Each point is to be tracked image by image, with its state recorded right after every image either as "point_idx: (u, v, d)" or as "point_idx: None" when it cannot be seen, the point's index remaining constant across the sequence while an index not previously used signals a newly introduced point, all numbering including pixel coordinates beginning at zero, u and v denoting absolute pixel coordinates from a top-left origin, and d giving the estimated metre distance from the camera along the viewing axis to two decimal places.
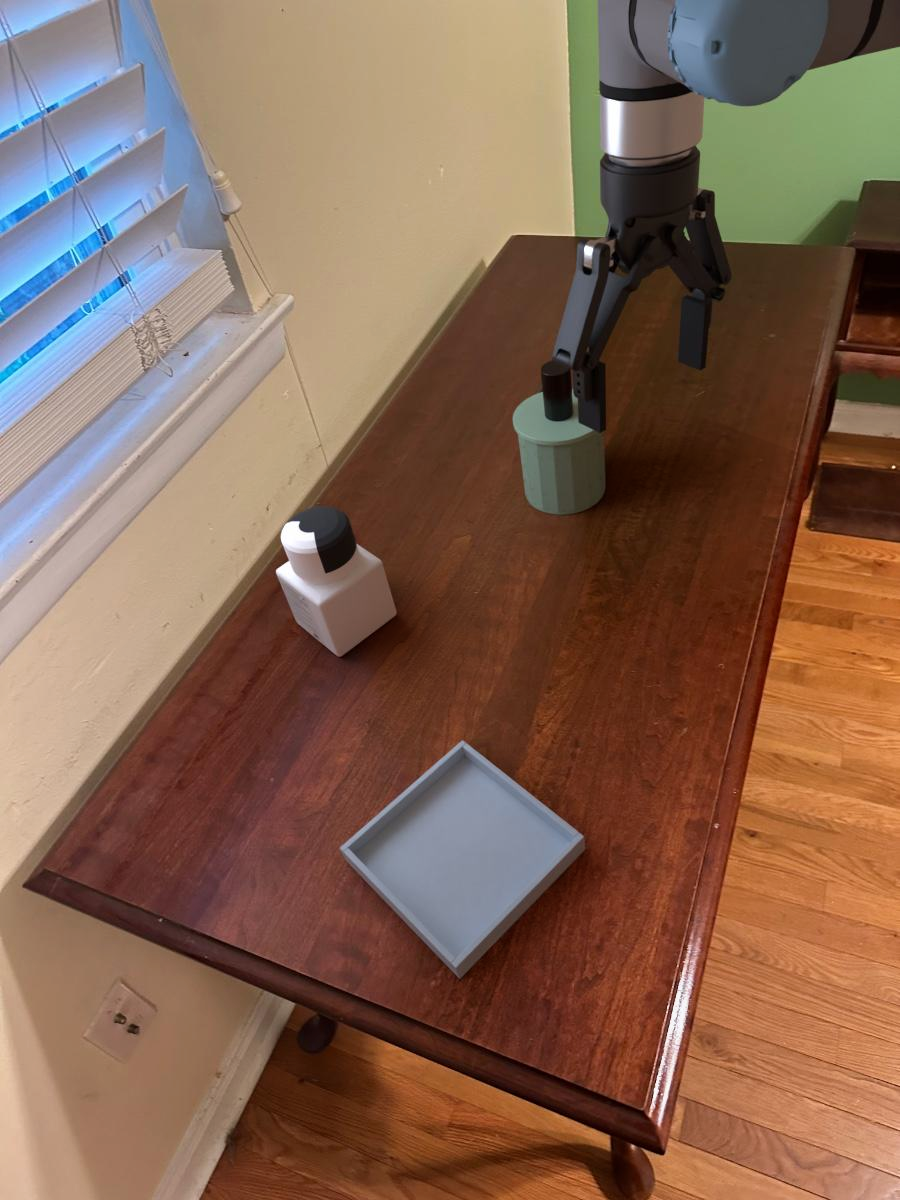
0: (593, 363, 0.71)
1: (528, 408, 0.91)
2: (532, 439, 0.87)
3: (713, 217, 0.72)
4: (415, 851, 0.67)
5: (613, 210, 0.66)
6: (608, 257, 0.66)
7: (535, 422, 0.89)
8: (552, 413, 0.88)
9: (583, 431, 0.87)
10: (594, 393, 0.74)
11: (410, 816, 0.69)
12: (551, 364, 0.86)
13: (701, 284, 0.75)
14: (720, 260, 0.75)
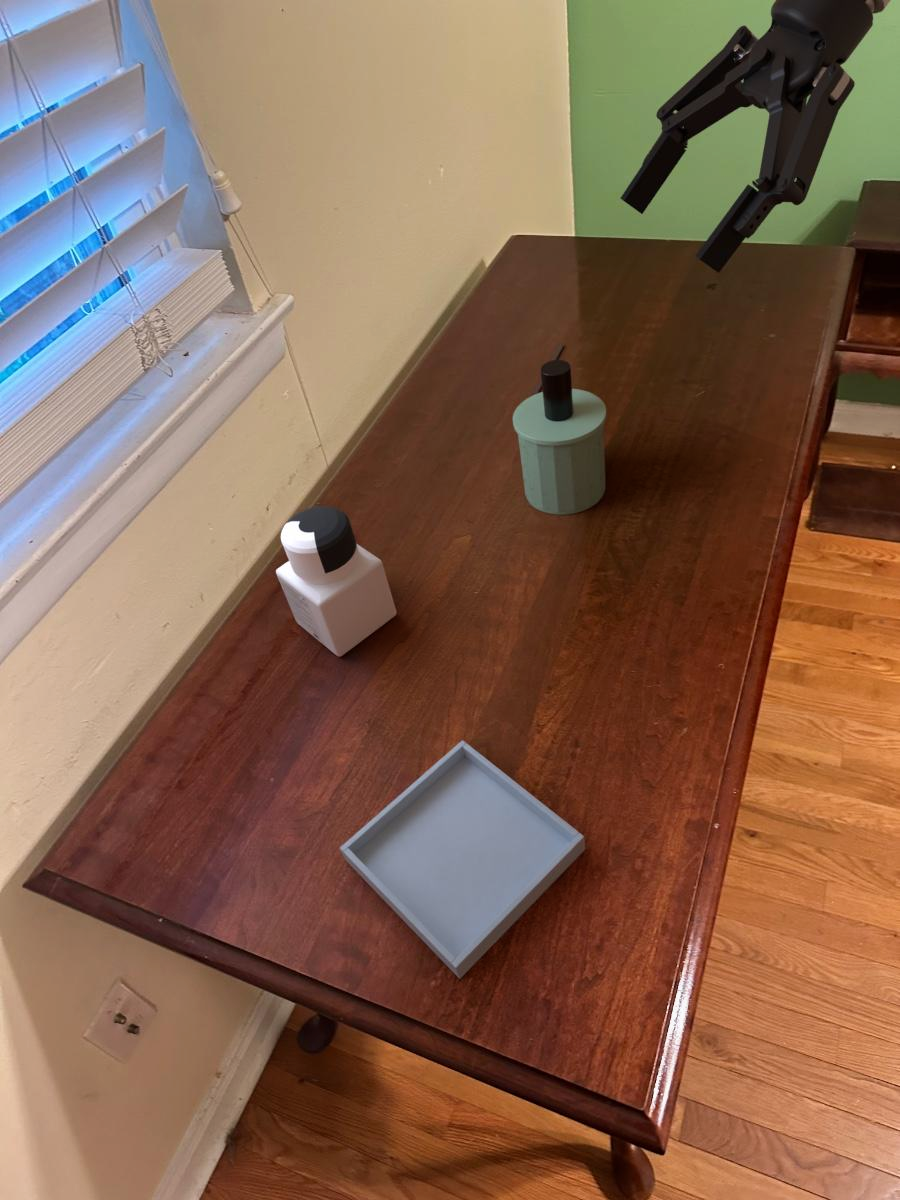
0: (665, 123, 0.78)
1: (528, 408, 0.91)
2: (532, 439, 0.87)
3: (820, 94, 0.66)
4: (415, 851, 0.67)
5: None
6: (738, 39, 0.73)
7: (535, 422, 0.89)
8: (552, 413, 0.88)
9: (583, 431, 0.87)
10: None
11: (410, 816, 0.69)
12: (551, 364, 0.86)
13: (763, 157, 0.69)
14: (792, 153, 0.67)
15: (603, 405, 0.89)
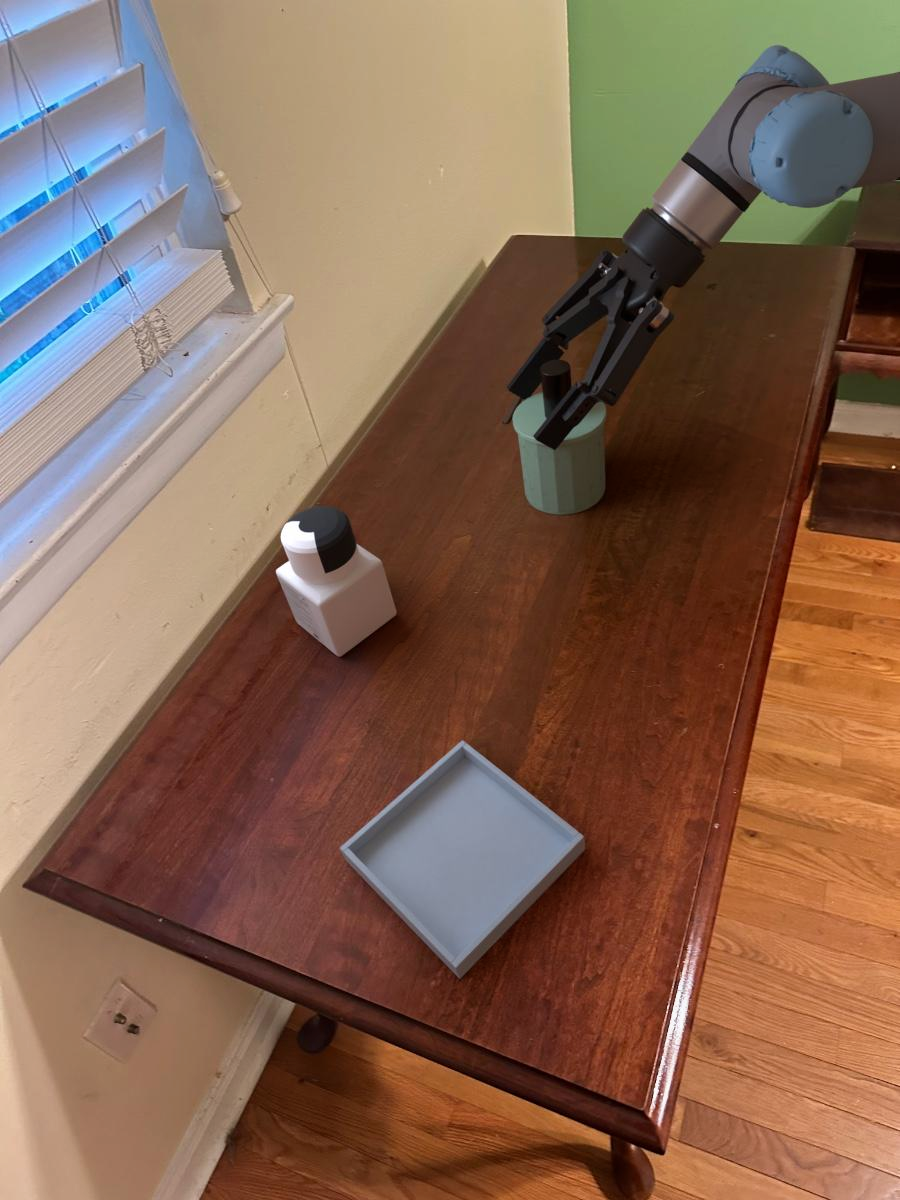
0: (545, 329, 0.89)
1: (527, 408, 0.91)
2: (532, 439, 0.87)
3: (638, 323, 0.77)
4: (415, 851, 0.67)
5: None
6: (601, 259, 0.85)
7: (535, 422, 0.89)
8: None
9: (583, 431, 0.87)
10: None
11: (410, 816, 0.69)
12: (551, 364, 0.86)
13: (591, 362, 0.81)
14: (609, 365, 0.79)
15: (603, 405, 0.89)
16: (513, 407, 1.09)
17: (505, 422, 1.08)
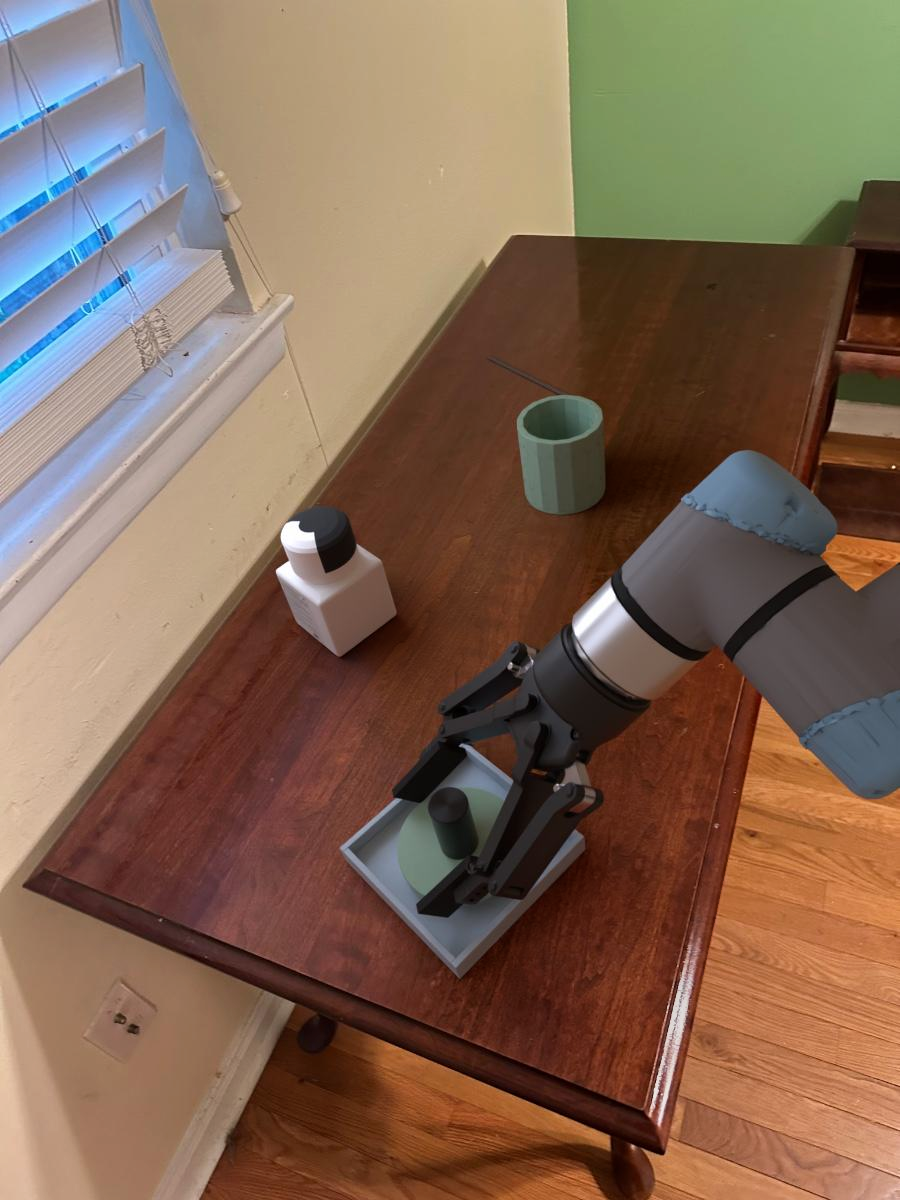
0: (440, 728, 0.65)
1: (419, 824, 0.67)
2: (419, 893, 0.63)
3: (552, 811, 0.53)
4: None
5: None
6: (512, 657, 0.61)
7: (426, 857, 0.65)
8: (447, 851, 0.64)
9: None
10: None
11: None
12: (443, 796, 0.62)
13: (491, 832, 0.57)
14: (511, 857, 0.55)
15: None
16: None
17: None
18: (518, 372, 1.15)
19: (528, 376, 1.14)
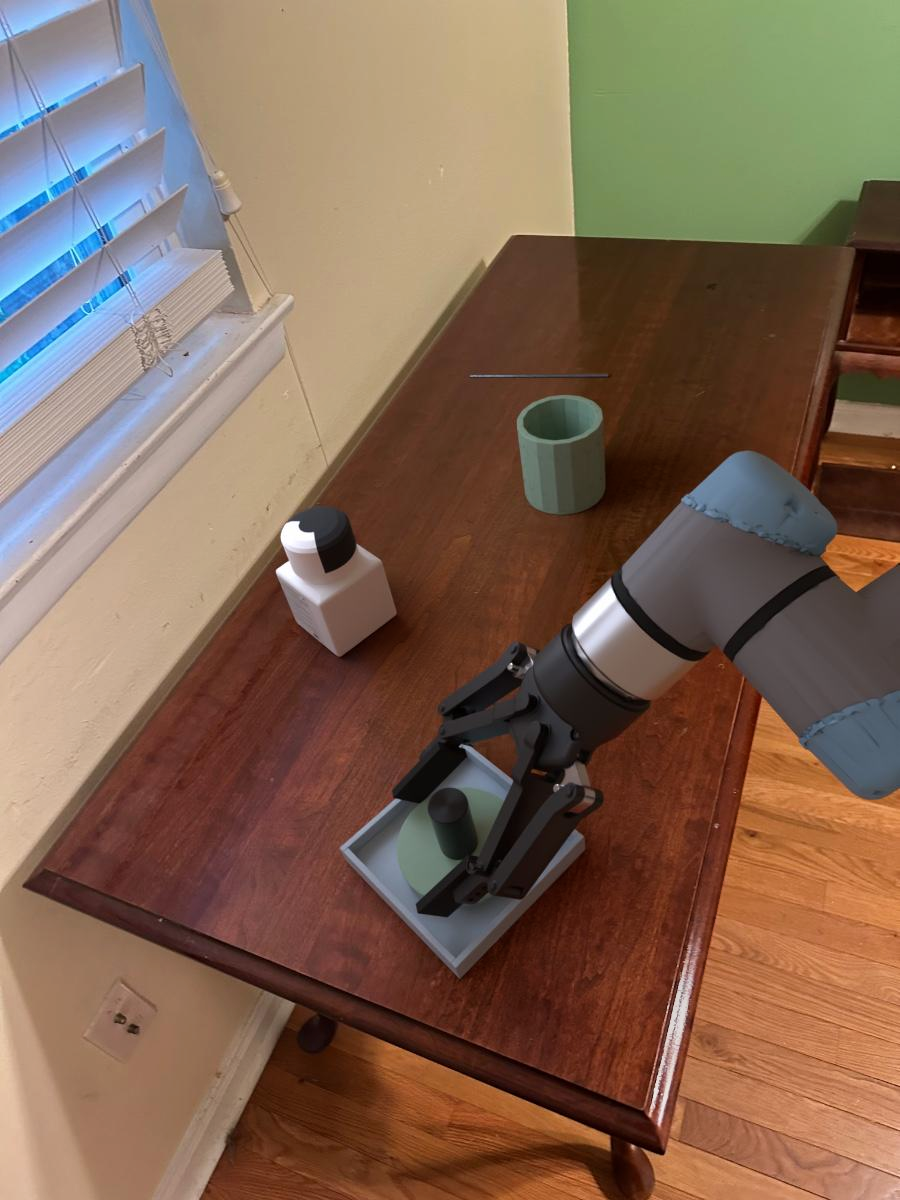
0: (440, 729, 0.65)
1: (419, 824, 0.67)
2: (419, 893, 0.63)
3: (552, 811, 0.53)
4: None
5: None
6: (512, 657, 0.61)
7: (426, 857, 0.65)
8: (447, 852, 0.64)
9: None
10: None
11: None
12: (443, 796, 0.62)
13: (491, 832, 0.57)
14: (511, 856, 0.55)
15: None
16: (584, 373, 1.12)
17: (609, 375, 1.12)
18: (516, 375, 1.15)
19: (531, 374, 1.14)
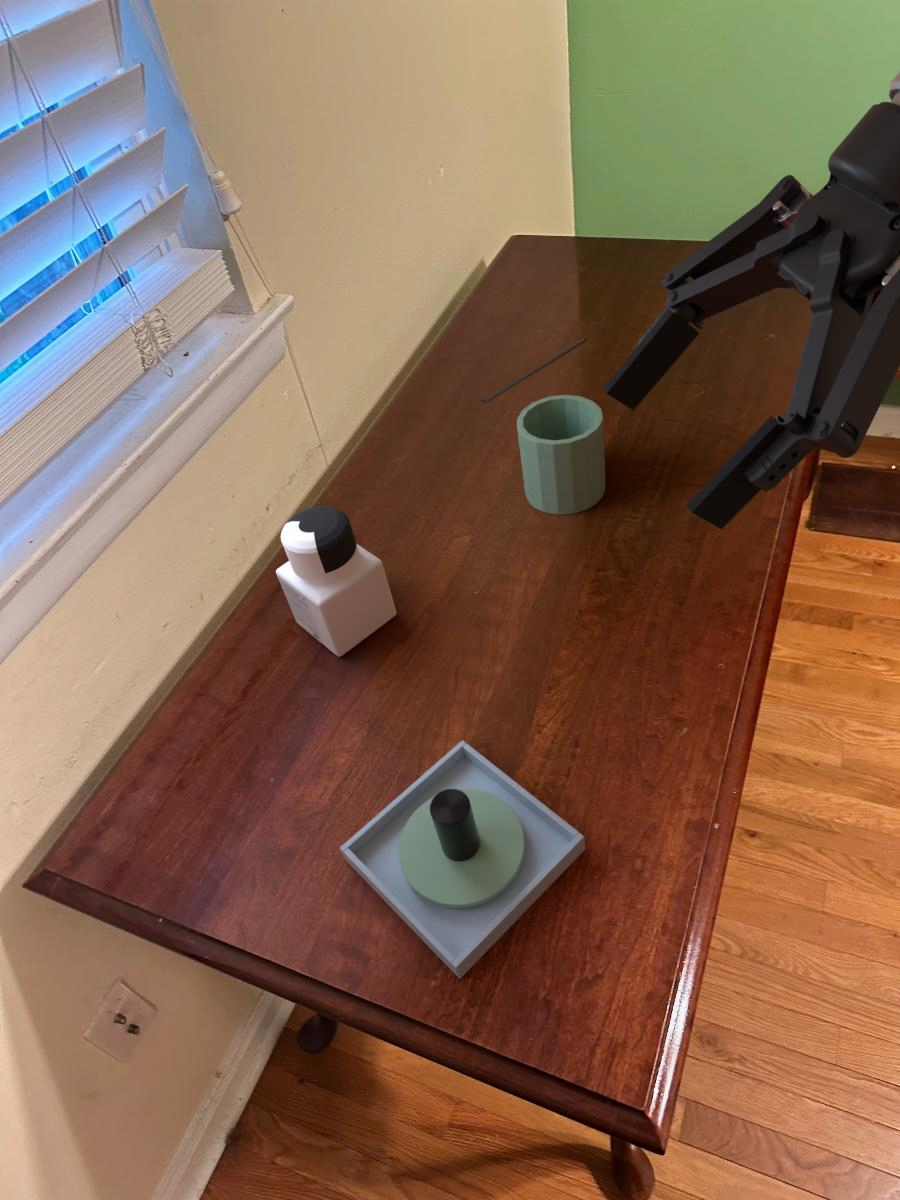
0: (671, 295, 0.55)
1: (421, 826, 0.67)
2: (421, 894, 0.63)
3: (891, 301, 0.42)
4: None
5: None
6: (781, 194, 0.50)
7: (428, 859, 0.65)
8: (449, 853, 0.64)
9: (490, 888, 0.63)
10: None
11: (410, 816, 0.69)
12: (445, 798, 0.62)
13: (797, 379, 0.45)
14: (841, 383, 0.43)
15: (521, 833, 0.65)
16: None
17: (582, 339, 1.19)
18: (520, 378, 1.14)
19: (530, 371, 1.15)
